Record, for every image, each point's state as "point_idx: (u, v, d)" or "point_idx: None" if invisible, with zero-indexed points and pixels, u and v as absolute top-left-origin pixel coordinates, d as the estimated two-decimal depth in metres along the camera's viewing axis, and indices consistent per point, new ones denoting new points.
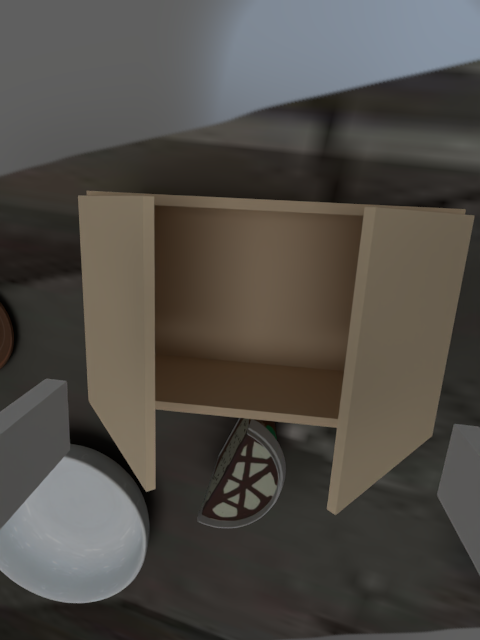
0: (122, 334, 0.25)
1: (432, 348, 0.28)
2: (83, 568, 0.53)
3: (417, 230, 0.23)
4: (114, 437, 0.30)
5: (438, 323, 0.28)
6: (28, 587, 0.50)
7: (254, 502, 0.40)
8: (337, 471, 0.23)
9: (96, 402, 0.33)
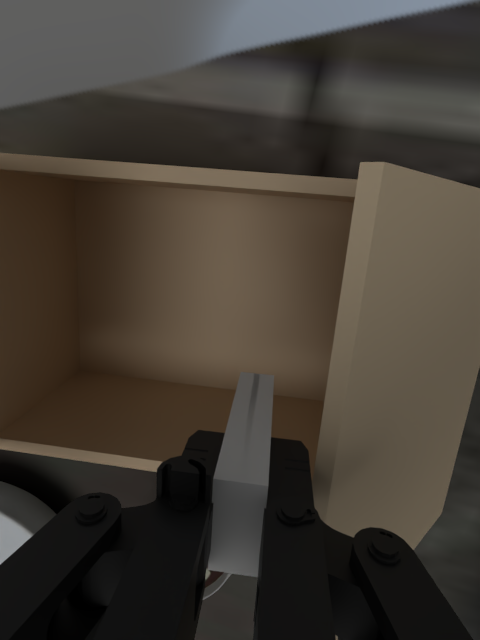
0: None
1: (453, 401, 0.19)
2: None
3: (451, 217, 0.13)
4: None
5: (463, 364, 0.18)
6: None
7: None
8: None
9: None
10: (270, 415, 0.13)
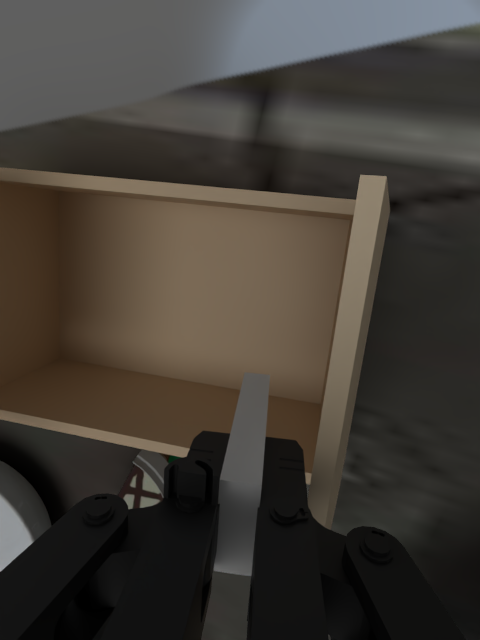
0: None
1: (356, 387, 0.21)
2: None
3: (383, 226, 0.14)
4: None
5: None
6: None
7: None
8: None
9: None
10: (265, 414, 0.13)
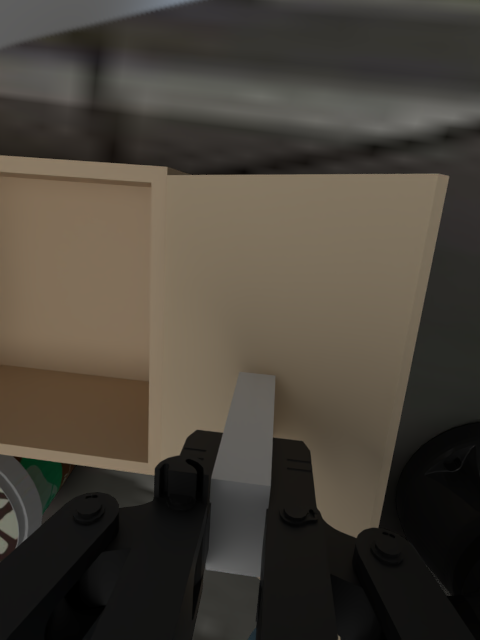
0: None
1: None
2: None
3: None
4: None
5: None
6: None
7: (1, 545, 0.32)
8: None
9: None
10: (272, 415, 0.13)
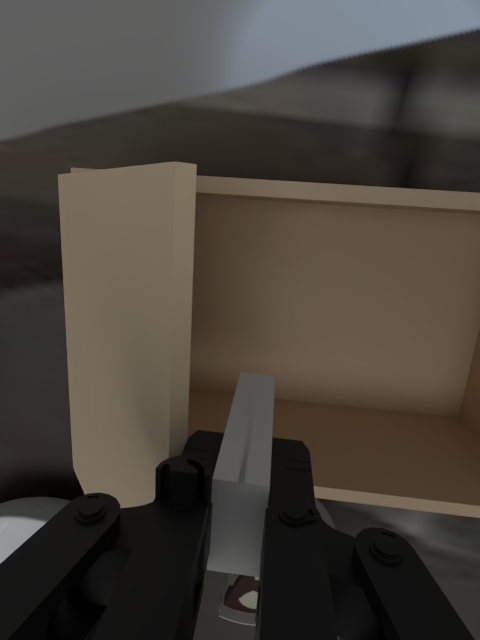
0: (125, 404, 0.15)
1: None
2: None
3: None
4: None
5: None
6: None
7: None
8: None
9: (83, 477, 0.23)
10: (271, 415, 0.13)
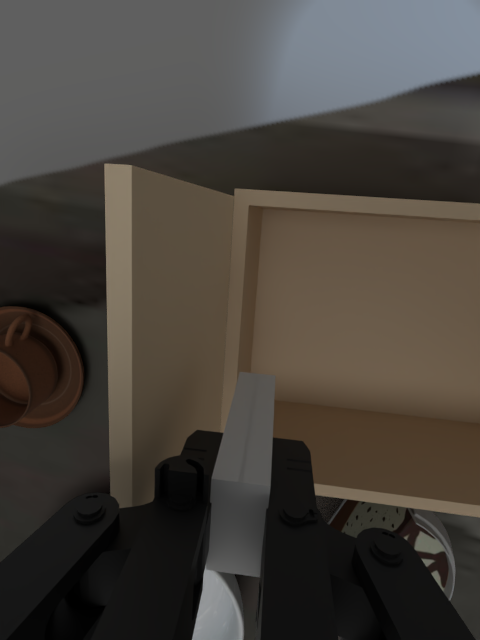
0: None
1: None
2: None
3: None
4: None
5: None
6: None
7: None
8: None
9: None
10: (272, 415, 0.13)
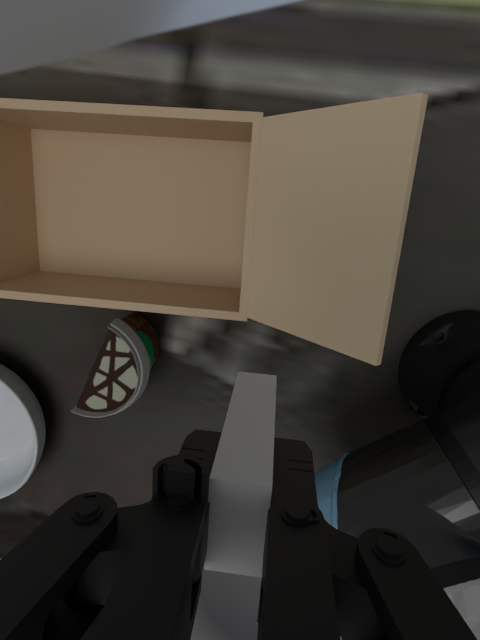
0: None
1: None
2: None
3: None
4: None
5: None
6: None
7: (120, 394, 0.45)
8: (385, 327, 0.28)
9: None
10: (273, 415, 0.13)
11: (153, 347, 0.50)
